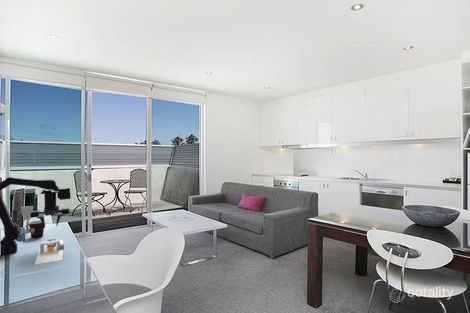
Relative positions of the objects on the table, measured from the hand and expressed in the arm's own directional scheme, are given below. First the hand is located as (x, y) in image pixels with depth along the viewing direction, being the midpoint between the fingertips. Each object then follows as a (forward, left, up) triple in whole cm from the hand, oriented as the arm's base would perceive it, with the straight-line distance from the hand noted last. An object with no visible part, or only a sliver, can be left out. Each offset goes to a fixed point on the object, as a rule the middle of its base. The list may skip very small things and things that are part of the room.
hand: (50, 226), depth 157 cm
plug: (0, -4, -11) cm, 12 cm away
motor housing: (0, -8, -11) cm, 14 cm away
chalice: (-16, +46, -12) cm, 50 cm away
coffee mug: (-10, +30, -12) cm, 34 cm away
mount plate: (0, -9, -12) cm, 15 cm away
